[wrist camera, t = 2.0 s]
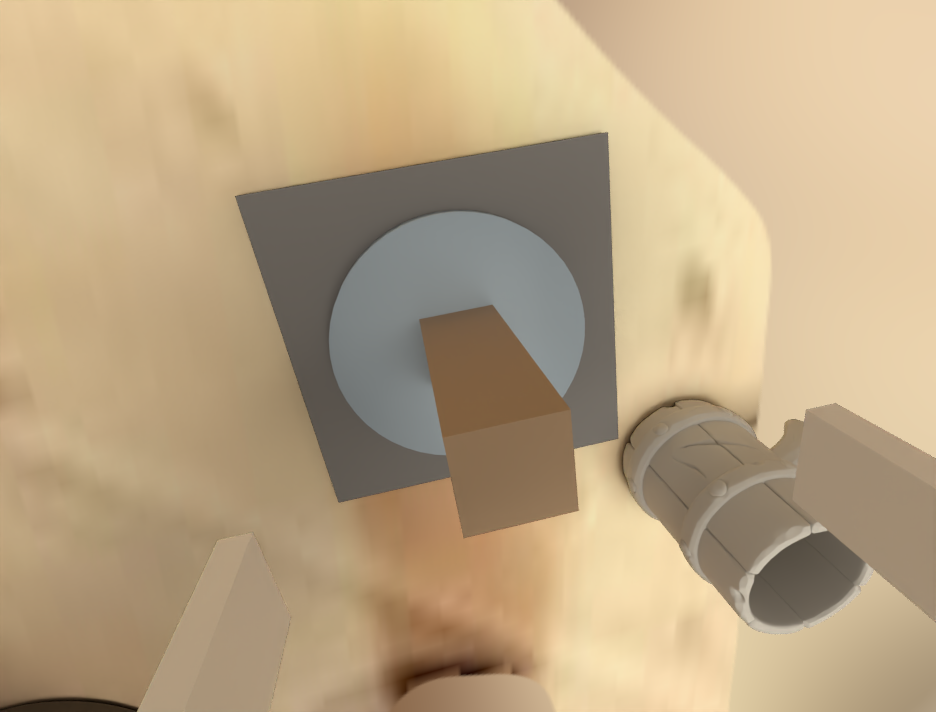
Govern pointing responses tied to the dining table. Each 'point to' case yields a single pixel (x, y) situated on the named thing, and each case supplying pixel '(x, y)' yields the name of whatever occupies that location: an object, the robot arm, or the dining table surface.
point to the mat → (401, 199)
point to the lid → (467, 359)
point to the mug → (741, 515)
